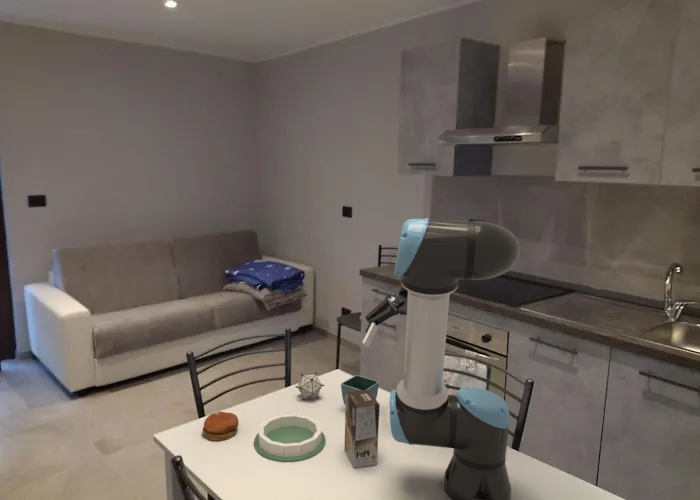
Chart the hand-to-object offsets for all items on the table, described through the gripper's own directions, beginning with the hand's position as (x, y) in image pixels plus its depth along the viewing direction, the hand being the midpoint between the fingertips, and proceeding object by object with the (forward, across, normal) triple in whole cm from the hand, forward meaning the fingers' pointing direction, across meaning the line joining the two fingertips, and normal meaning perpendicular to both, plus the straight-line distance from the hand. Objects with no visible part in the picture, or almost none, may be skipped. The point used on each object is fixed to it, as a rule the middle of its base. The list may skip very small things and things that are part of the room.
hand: (386, 351), depth 132 cm
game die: (+13, +32, -24) cm, 42 cm away
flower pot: (+11, +15, -26) cm, 32 cm away
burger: (+35, +38, -1) cm, 52 cm away
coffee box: (+25, 0, -11) cm, 28 cm away
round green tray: (+29, +19, -7) cm, 36 cm away
